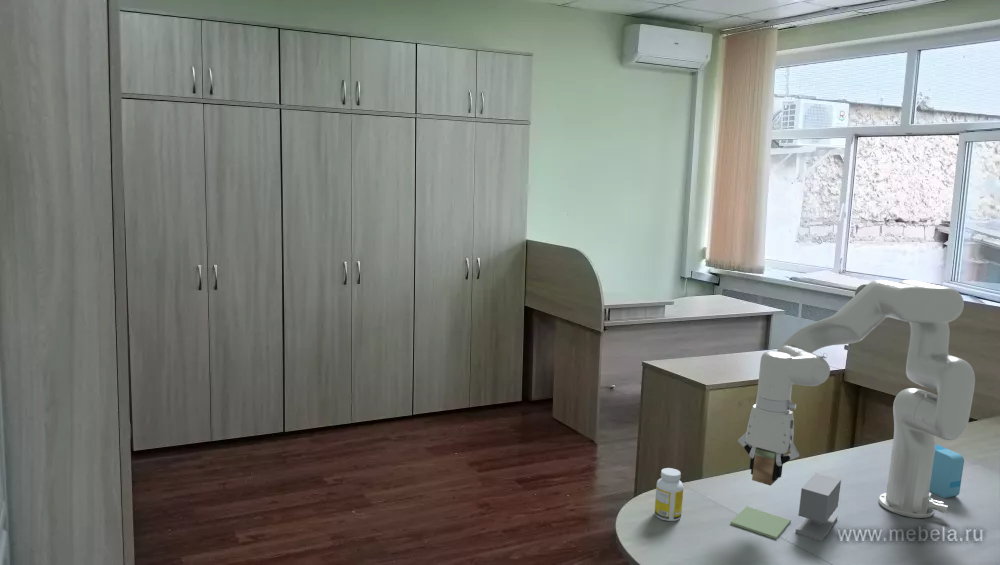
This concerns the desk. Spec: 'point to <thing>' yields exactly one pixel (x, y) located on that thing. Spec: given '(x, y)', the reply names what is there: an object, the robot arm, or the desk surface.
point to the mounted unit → (818, 506)
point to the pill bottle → (669, 495)
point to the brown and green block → (763, 466)
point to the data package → (946, 472)
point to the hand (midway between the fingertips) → (764, 475)
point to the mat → (761, 522)
